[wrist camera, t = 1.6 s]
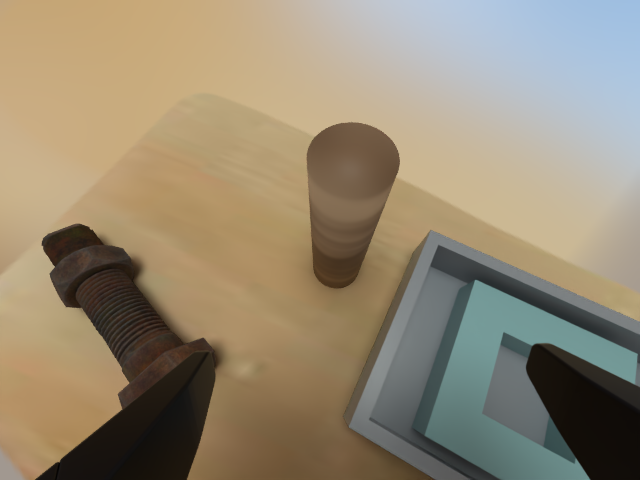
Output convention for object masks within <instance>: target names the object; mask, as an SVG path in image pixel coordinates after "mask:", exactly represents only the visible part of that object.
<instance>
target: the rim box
mask: <svg viewBox="0 0 640 480" xmlns="http://www.w3.org/2000/svg"><path fill="white" fill-rule="evenodd" d="M536 343H550V344H553V345H555V346H557V347H559V348H561V349H563V350H565V351H567V352H569V353H571V354H574V355H576V356H578V357H580V358H582V359H584V360H586V361H588V362H590V363H592V364H594V365H596V366H598V367H600V368H602V369H604V370H606V371H608V372H610V373H612V374H614V375H617V376H619V377H621V378H623V379H625V380H627V381H629V382H631V383H633V384H635V385H637V386H639V387H640V322H639V321H637V320H634V319H632V318H630V317H627V316H625V315H623V314H621V313H618V312H616V311H614V310H612V309H609V308H607V307H605V306H602V305H600V304H598V303H596V302H593V301H591V300H589V299H587V298H584V297H582V296H580V295H577V294H575V293H573V292H571V291H568V290H566V289H564V288H562V287H559V286H557V285H555V284H552V283H550V282H548V281H546V280H543V279H541V278H539V277H537V276H534V275H532V274H530V273H527V272H525V271H523V270H521V269H518V268H516V267H514V266H512V265H509V264H507V263H505V262H502V261H500V260H498V259H496V258H493V257H491V256H489V255H487V254H484V253H482V252H480V251H477V250H475V249H473V248H471V247H468V246H466V245H464V244H462V243H459V242H457V241H455V240H452V239H450V238H448V237H446V236H443V235H441V234H439V233H437V232H434V231H432V230H431V231H430V232H429V233H428V234H427V236H426V237H425V238H424V239H423V241H422V242H421V243H420V244H419V246H418V247H417V248H416V250H415V251H414V252H413V255H412V257H411V259H410V262H409V264H408V266H407V269H406V271H405V273H404V276H403V278H402V280H401V283H400V285H399V287H398V290H397V292H396V294H395V297H394V299H393V301H392V304H391V306H390V308H389V311H388V313H387V315H386V318H385V320H384V322H383V325H382V327H381V329H380V332H379V334H378V336H377V339H376V341H375V343H374V346H373V348H372V350H371V353H370V355H369V357H368V360H367V362H366V364H365V367H364V369H363V371H362V374H361V376H360V378H359V381H358V383H357V385H356V388H355V390H354V392H353V395H352V397H351V399H350V402H349V404H348V406H347V409H346V411H345V413H344V416H343V417H344V419H345V421H346V423H347V425H348V427H349V428H351V429H352V430H354V431H356V432H357V433H359V434H361V435H362V436H364V437H366V438H367V439H369V440H371V441H372V442H374V443H376V444H377V445H379V446H381V447H382V448H384V449H386V450H387V451H389V452H390V453H392V454H394V455H395V456H397V457H399V458H400V459H402V460H404V461H405V462H407V463H409V464H410V465H412V466H414V467H415V468H417V469H419V470H420V471H422V472H424V473H425V474H427V475H429V476H430V477H432V478H433V479H435V480H590V479H589V477H588V476H587V474H586V473H585V471H584V470H583V468H582V467H581V465H580V464H579V462H578V461H577V459H576V458H575V456H574V455H573V453H572V452H571V450H570V449H569V447H568V446H567V444H566V442H565V441H564V439H563V438H562V436H561V435H560V433H559V431H558V430H557V428H556V426H555V425H554V423H553V421H552V419H551V417H550V416H549V414H548V412H547V410H546V408H545V406H544V405H543V403H542V401H541V399H540V397H539V395H538V394H537V392H536V390H535V388H534V386H533V384H532V383H531V381H530V379H529V377H528V375H527V372H526V363H527V360H528V357H529V353H530V350H531V347H532V346H533V345H534V344H536Z"/></svg>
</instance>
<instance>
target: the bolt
mask: <svg viewBox="0 0 640 480" xmlns="http://www.w3.org/2000/svg"><path fill="white" fill-rule="evenodd" d="M42 246H43V250H44V252H45V253H46V255H47V256H48V257H49V259H50V261H51V262H52V264H53V265H54V266H55V268H54V269H53V270H52V271H51V273H50V278H51V280H52V283H53V285H54V287H55V289H56V291H57V293H58V295H59V297H60V298H61V300H62V302H63V303H64V305H65V306H66V307H72V308H82V309H83V310H84V312H85V313H86V315H87V316H88V318H89V319H90V320H91V322H92V323H93V325H94V326H95V327H96V330H97V331H98V333H99V334H100V335H101V336H102V337H103V339H104V340H105V341H106V343H107V345H108V346H109V348H110V350H111V351H112V353H113V355H114V357H115V358H116V359H117V361H118V362H119V364H120V366H121V367H122V372H123V373H124V375H125V377H126V378H127V380H128V381H129V384H128V385H127V386H126V387H125V388H124V389H123V390H122V391H121V392H119V393H118V396H119V400H120V403H121V406H122V409H124V408H125V407H126V406H127V405H129V404H130V403H131V402H132V401H134V400H135V399H136V398H137V397H139V396H140V395H141V394H142V393H144V392H145V391H146V390H147V389H148V388H150V387H151V386H152V385H153V384H155V383H156V382H157V381H158V380H160V379H161V378H162V377H163V376H165V375H166V374H167V373H168V372H170V371H171V370H172V369H173V368H175V367H176V366H177V365H178V364H180V363H181V362H182V361H183V360H185V359H186V358H187V357H188V356H189V355H191V354H192V353H193V352H195V351H210V352H211V354H212V358H213V363H214V367H215V364H216V360H215V354H214V350H213V349H212V348H211V346H210V345H209V344H208V343H207V341H206V340H205V339H204V338H201V339H198V340H196V341H193V342H190V343H187V344H185V345H183V343H182V342H181V341H180V340H179V338H178V337H177V336H176V335H175V334H173V333H172V332H171V331H170V329H169V328H168V327H167V325H165V323H164V322H163V321H162V319H161V318H160V317H159V315H158V314H157V313H156V311H155V310H154V309H153V307H152V306H151V305H150V304H149V303H148V301H147V300H146V298H145V297H144V296H143V294H142V293H141V292H140V291H139V290H138V288H137V287H136V285H134V283H133V282H132V279H133V277H134V269H133V265H132V262H131V258H130V257H129V256H128V254H127V253H126V252H125V251H124V249H123V248H119V247H114V246H108V245H104V244H103V243H102V242H101V241H100V239H99V238H98V237H97V235H96V234H95V233H94V231H93V230H90V228H89V227H88V226H85V225H82V224H74V225H71V226H68V227H66V228H63V229H60V230H58V231H55V232H52V233H50V234H48V235H47V236H45V237H44V238H43V241H42Z"/></svg>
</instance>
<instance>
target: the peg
mask: <svg viewBox="0 0 640 480" xmlns="http://www.w3.org/2000/svg"><path fill="white" fill-rule="evenodd" d="M399 164H400V159H399V153H398V150H397V148H396V146H395V144H394V143H393V141H392V140H391V139H390V138H389V137H388V136H387V135H386V134H384V133H383V132H382V131H380V130H378V129H377V128H374V127H372V126H369V125H366V124H362V123H341V124H336V125H333V126H331V127H328V128H326V129H325V130H323V131H321V132H320V133H319V134H318V135H317V136H316V137H315V138H314V139H313V140H312V142H311V144H310V146H309V148H308V152H307V171H308V187H309V203H310V219H311V236H312V252H313V267H314V273H315V275H316V277H317V278H318V280H319V281H320V282H321V283H323V284H324V285H326V286H328V287H331V288H342V287H345V286H348V285H349V284H351V283H352V282H353V281H354V280H355V278H356V277H357V275H358V272H359V270H360V267H361V264H362V262H363V259H364V257H365V254H366V252H367V249H368V247H369V244H370V242H371V239H372V236H373V234H374V231H375V229H376V226H377V224H378V221H379V219H380V216H381V213H382V211H383V208H384V206H385V203H386V201H387V198H388V196H389V193H390V191H391V188H392V185H393V183H394V180H395V178H396V175H397V173H398V170H399Z"/></svg>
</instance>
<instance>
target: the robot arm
mask: <svg viewBox="0 0 640 480" xmlns="http://www.w3.org/2000/svg"><path fill="white" fill-rule="evenodd" d="M526 372H527V375H528V377H529V379H530V381H531V383H532V384H533V386H534V388H535V390H536V392H537V394H538V395H539V397H540V399H541V401H542V403H543V405H544V406H545V408H546V410H547V412H548V414H549V416H550V417H551V419H552V421H553V423H554V425H555V426H556V428H557V430H558V431H559V433H560V435H561V436H562V438H563V439H564V441H565V442H566V444H567V446H568V447H569V449H570V450H571V452H572V453H573V455H574V456H575V458H576V459H577V461H578V462H579V464H580V465H581V467H582V468H583V470H584V471H585V473H586V474H587V476H588V477H589V479H590V480H640V387H639V386H637V385H635V384H633V383H631V382H629V381H627V380H625V379H623V378H621V377H619V376H617V375H614V374H612V373H610V372H608V371H606V370H604V369H602V368H600V367H598V366H596V365H594V364H592V363H590V362H588V361H586V360H584V359H582V358H580V357H578V356H576V355H574V354H571V353H569V352H567V351H565V350H563V349H561V348H559V347H557V346H555V345H553V344H550V343H536V344H534V345H533V346H532V347H531V350H530V353H529V357H528V360H527V363H526ZM214 383H215V369H214V363H213V358H212V354H211V352H210V351H195V352H193V353H192V354H191V355H189V356H188V357H187V358H186V359H185V360H183V361H182V362H181V363H180V364H178V365H177V366H176V367H175V368H173V369H172V370H171V371H170V372H168V373H167V374H166V375H165V376H163V377H162V378H161V379H160V380H158V381H157V382H156V383H155V384H153V385H152V386H151V387H150V388H148V389H147V390H146V391H145V392H144V393H142V394H141V395H140V396H139V397H137V398H136V399H135V400H134V401H132V402H131V403H130V404H129V405H127V406H126V407H125V408H124V409H122V410H121V411H120V412H119V413H117V414H116V415H115V416H114V417H112V418H111V419H110V420H109V421H107V422H106V423H105V424H104V425H103V426H101V427H100V428H99V429H98V430H96V431H95V432H94V433H93V434H91V435H90V436H89V437H88V438H86V439H85V440H84V441H83V442H81V443H80V444H79V445H78V446H76V447H75V448H74V449H73V450H71V451H70V452H69V453H68V454H67V455H65V456H64V457H63V458H62V459H61V460H60V462H57V463H55V464H54V465H53V466H51V467H50V468H49V469H48V470H46V471H45V472H44V473H43V474H41V475H40V476H39V477H38V478H36V479H35V480H187V477H188V474H189V472H190V469H191V466H192V463H193V460H194V457H195V455H196V452H197V449H198V446H199V443H200V440H201V436H202V432H203V428H204V424H205V420H206V416H207V412H208V408H209V404H210V400H211V396H212V392H213V387H214Z"/></svg>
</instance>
